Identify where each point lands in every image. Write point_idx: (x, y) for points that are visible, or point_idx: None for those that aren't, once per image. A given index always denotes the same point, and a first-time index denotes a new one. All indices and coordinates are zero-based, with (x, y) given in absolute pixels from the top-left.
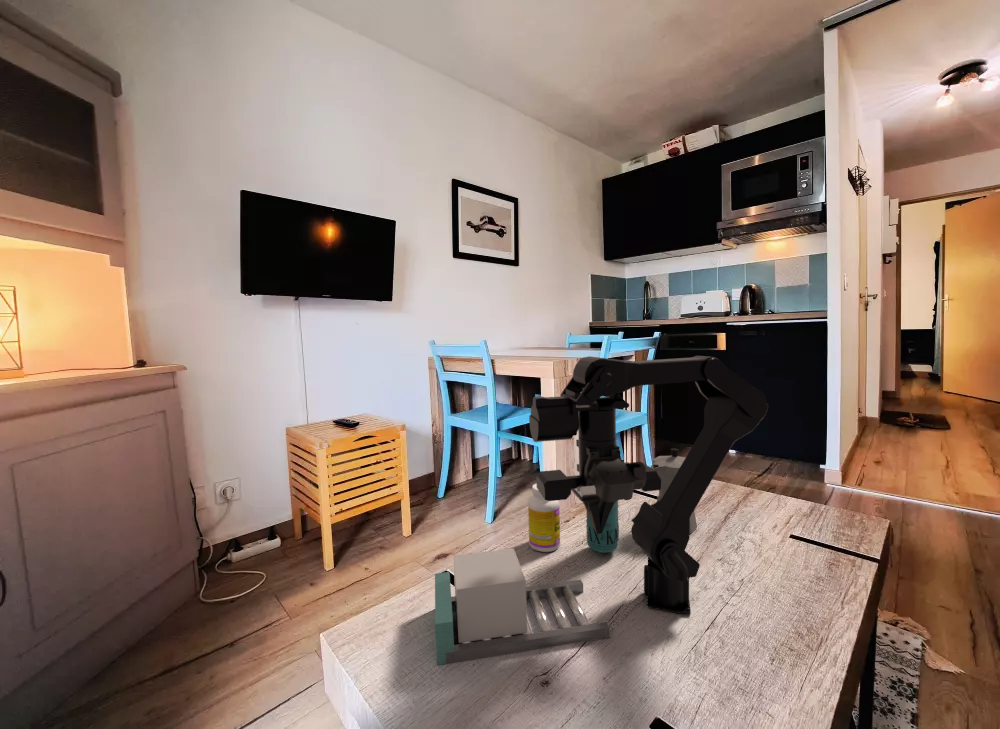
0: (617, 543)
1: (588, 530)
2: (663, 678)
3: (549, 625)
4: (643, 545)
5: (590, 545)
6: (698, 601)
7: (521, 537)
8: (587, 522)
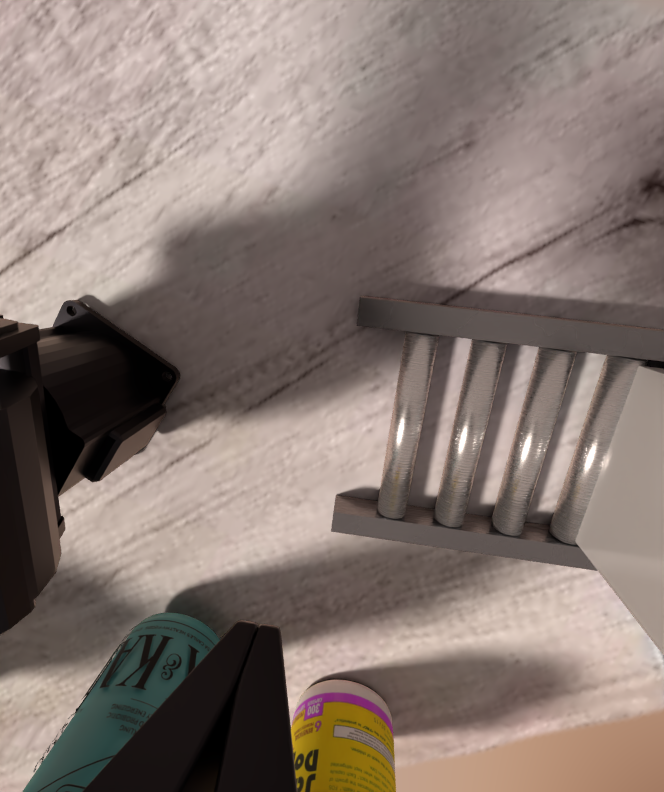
0: (132, 632)
1: None
2: (293, 85)
3: (540, 378)
4: (14, 478)
5: None
6: None
7: None
8: None
